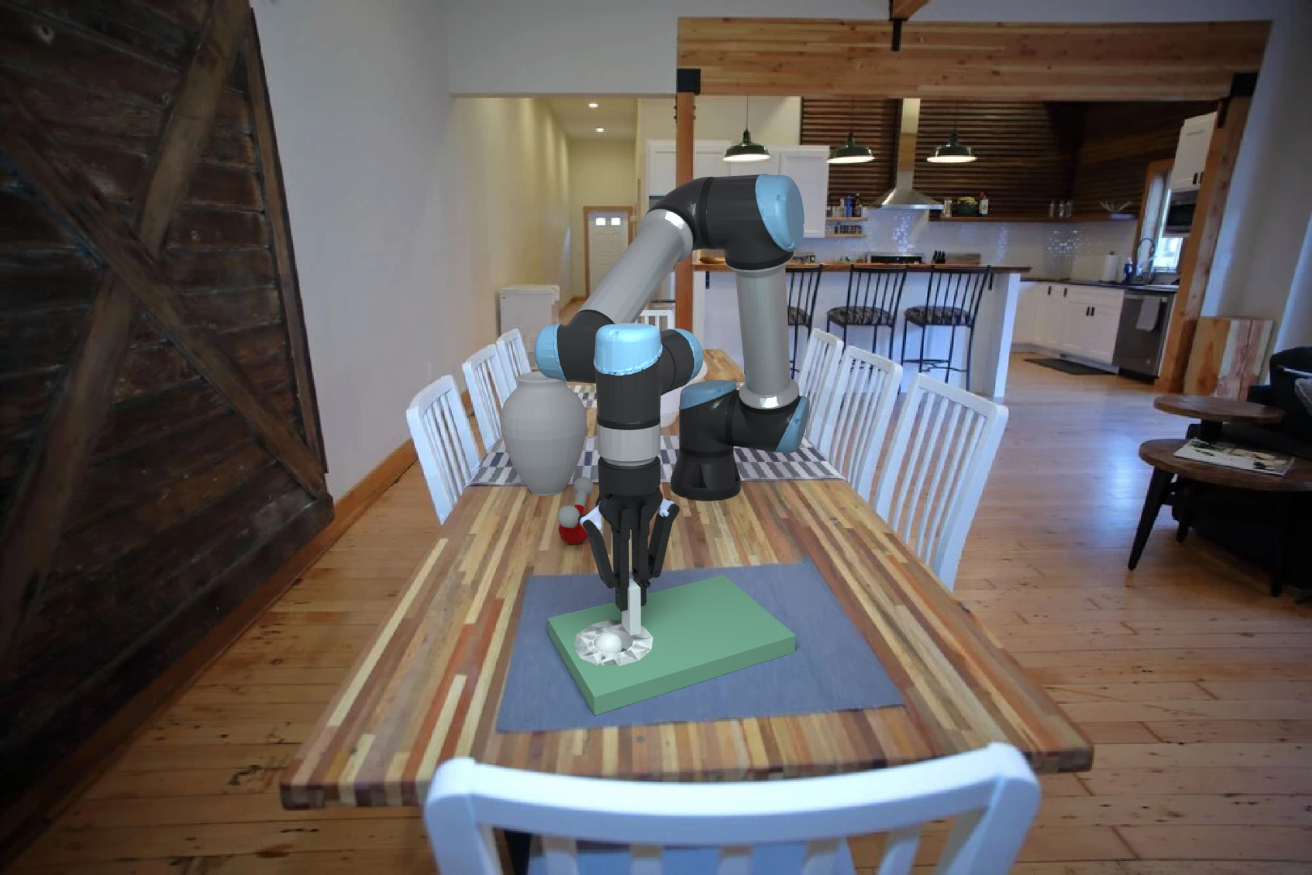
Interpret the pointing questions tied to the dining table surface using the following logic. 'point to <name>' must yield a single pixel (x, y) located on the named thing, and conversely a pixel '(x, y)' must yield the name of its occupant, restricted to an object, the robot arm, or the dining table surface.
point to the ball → (609, 643)
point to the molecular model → (575, 513)
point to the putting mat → (668, 642)
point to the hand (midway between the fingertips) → (631, 628)
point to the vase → (543, 432)
